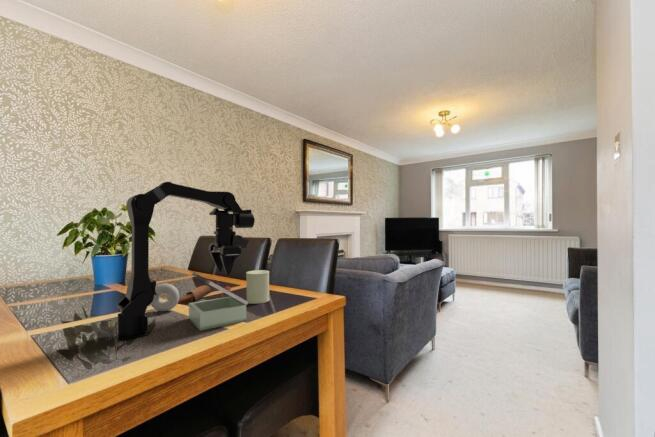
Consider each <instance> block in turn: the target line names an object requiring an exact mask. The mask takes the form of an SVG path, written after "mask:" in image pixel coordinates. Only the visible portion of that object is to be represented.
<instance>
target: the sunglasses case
mask: <svg viewBox="0 0 655 437" xmlns="http://www.w3.org/2000/svg"><path fill="white" fill-rule="evenodd" d="M211 291H212V290H211V287H210V285H209V284H205V285H200V286H198V287H196V288H193V289H191V290H189V291H187V292H186V293H185V294H184V295H183V296H180V297H179V301H178V303H177V305H186V304H188V305H189V303H194V302H199V301H200V300H201V299H202V298H203V297H204V296H206V295H207V294H209V293H211Z"/></svg>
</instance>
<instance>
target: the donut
mask: <svg viewBox="0 0 655 437" xmlns="http://www.w3.org/2000/svg"><path fill="white" fill-rule="evenodd" d="M155 292H156V294H157V295H154V299H153V302H152V303H151V304H150V307H152V308H153V309H154V310H156V311H158V312H169V311H171V310H172V309H173V310H174V309H175V307H176V306H177V305H178V304H177V303H178V301H179V299H180V298H181V295H180V291H179V289H178V288H177V287H175V285H173V284H171V283H166V282H165V283H160V284H156V287H155ZM162 294H166V295H167V296H168V300H166V301H163V300H162V299H161V295H162Z"/></svg>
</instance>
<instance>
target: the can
mask: <svg viewBox="0 0 655 437" xmlns="http://www.w3.org/2000/svg"><path fill="white" fill-rule="evenodd" d="M245 273H246V274H245V275H246V276H245V277H246V282H245V283H246V298H245V299H246V301H248V302H249V303H248V304H250V305H251V304H255V305H257V304H258V305H259V304H264V303H267V302H270V270H266V269H256V270H249V271H245Z"/></svg>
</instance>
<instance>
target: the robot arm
mask: <svg viewBox="0 0 655 437" xmlns="http://www.w3.org/2000/svg"><path fill="white" fill-rule="evenodd" d="M167 197H175V198H178V199H185V200H189V201H193V202H199V203H200V202H201V203H203V204H207V205H209V206H210V207H214V208H213V210H211V211H210V212H209V216H215V230H213V235H215V242H211V243H210V244H208V245H207V246H208V247H207V248H208V249H207V251H208V252H209V254H210V256H211V258H212V260H213V263H214V264H215V267H216V269H217V271H218V272H220V273H221V272H223V268H224V272H225V274H226V276H231V273H232V270H233V267H234V264H235V260H236V259H237V258H239V257H240V256H241V254H243V249H248V247H249V243H250V240H249V239H247V238H244V237H243V235H240V234H236V231H235V230H234V227H235V229H252V228H253V227H254V226H255V222H256V221H255V216H254V213H252V209H242V208H241V206H240V205H239V203H238V202H237V200H236V197H235V194H234V193H233V192H231V191H211V190H210V191H209V190H205V189H204V190H203V189H201V188H195V187H191V186H186V185H181V184H177V183H173V182H171V181H165V182H161V183H159V185H157V186H155V187H154V188H152V189H151V190H149V191H146V192H145V193H139V194H138V193H137V194H136V195H133V196H131V197H129V198H128V199H127V200H126V209H127V215H128V219H129V222H130V224H131V271H130V272H131V273H130V277H129V280H128V283H127V286H126V292H125V296H124V297H123V298H122V299H121V300H120V301H119V302H118V303H116V304H115V306H116V308H117V311H118V312H119V313H117V331H116V339H117V341H119V342H120V341H124V340H130V339H133V338H139V337H143V336H144V337H145V336H146V335H147V332H148V316H147V314H146V311H147V309H148V307H149V306H151V303H152V302H153V299H154V295H157V294H156V292H155V287H156V286H157V280H155V279H154V278H151V277H150V274H149V260H150V259H149V254H150V252H149V250H150V249H149V248H150V247H149V243H150V242H149V240H150V237H149V236H150V230H149V227H150V223H151V221H152V218H153V214H154V211H155V210H154V209H155V205H157V204H158V203H160V202H162V201H163V200H164V199H166V198H167Z"/></svg>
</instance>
